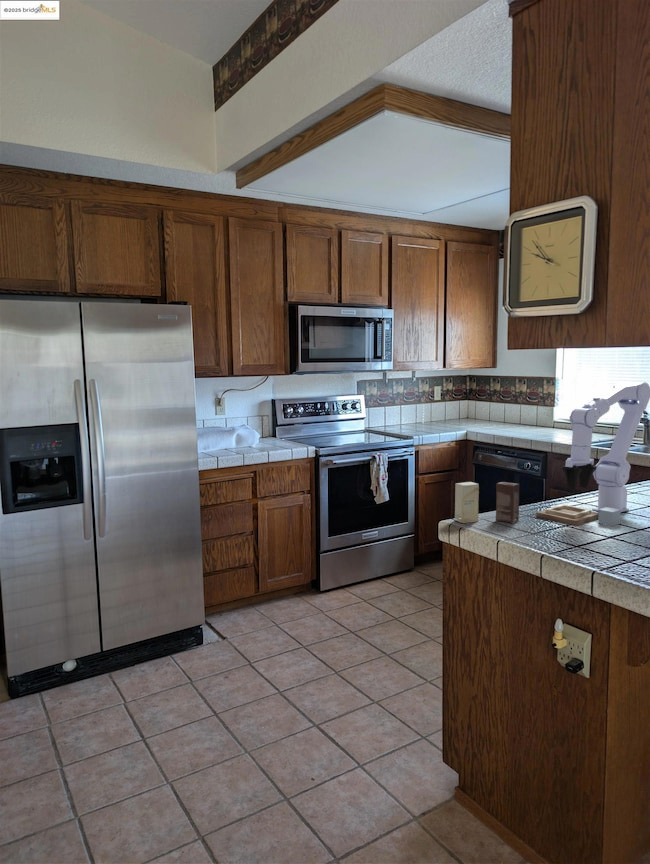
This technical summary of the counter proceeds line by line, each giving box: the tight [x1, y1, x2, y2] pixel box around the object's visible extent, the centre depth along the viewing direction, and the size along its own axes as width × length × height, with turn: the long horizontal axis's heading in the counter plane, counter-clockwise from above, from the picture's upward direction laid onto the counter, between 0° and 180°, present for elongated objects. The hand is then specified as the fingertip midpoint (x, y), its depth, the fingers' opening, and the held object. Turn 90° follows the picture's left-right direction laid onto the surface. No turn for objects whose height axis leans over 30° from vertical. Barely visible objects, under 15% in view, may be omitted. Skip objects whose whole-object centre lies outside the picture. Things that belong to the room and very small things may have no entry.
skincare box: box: [454, 481, 480, 524], centre depth 193 cm, size 6×4×12 cm
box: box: [495, 481, 520, 524], centre depth 193 cm, size 6×4×12 cm
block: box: [597, 507, 622, 527], centre depth 188 cm, size 4×4×4 cm
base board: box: [535, 504, 599, 526], centre depth 196 cm, size 14×14×2 cm
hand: (577, 488), depth 194 cm, fingers open, 7 cm apart
